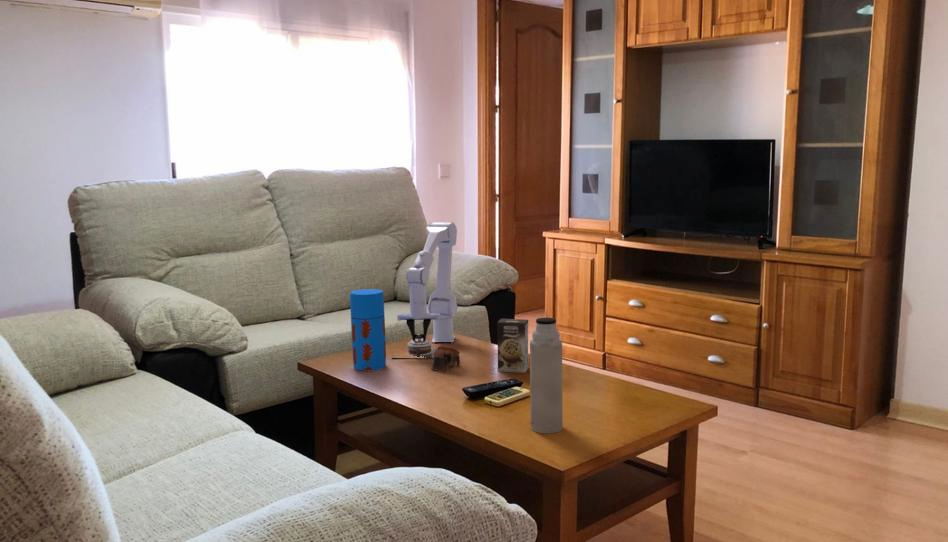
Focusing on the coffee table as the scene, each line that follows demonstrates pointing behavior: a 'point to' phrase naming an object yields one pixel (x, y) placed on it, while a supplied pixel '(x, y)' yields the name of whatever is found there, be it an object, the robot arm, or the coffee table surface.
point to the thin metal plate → (421, 350)
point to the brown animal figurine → (445, 358)
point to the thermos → (368, 329)
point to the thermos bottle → (546, 377)
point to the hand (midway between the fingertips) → (419, 340)
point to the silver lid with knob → (419, 340)
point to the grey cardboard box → (513, 345)
